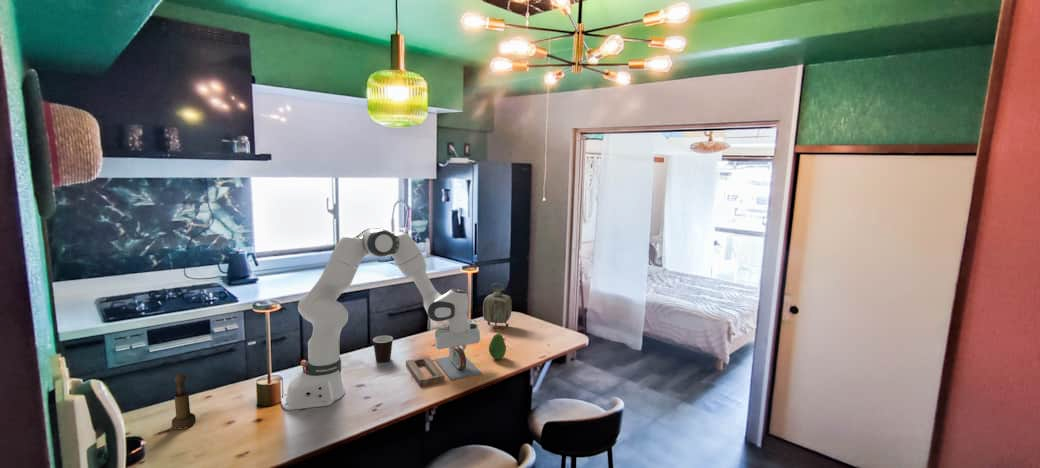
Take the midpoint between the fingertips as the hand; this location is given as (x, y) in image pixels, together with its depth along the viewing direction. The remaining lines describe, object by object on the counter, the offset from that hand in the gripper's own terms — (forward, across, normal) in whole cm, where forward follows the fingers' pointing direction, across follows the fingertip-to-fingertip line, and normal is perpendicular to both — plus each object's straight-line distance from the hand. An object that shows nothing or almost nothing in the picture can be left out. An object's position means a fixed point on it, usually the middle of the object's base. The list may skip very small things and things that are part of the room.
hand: (457, 354), depth 212 cm
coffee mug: (+6, -27, +22) cm, 35 cm away
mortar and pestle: (+6, -100, -4) cm, 100 cm away
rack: (+6, -15, 0) cm, 16 cm away
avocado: (+6, +20, +1) cm, 21 cm away
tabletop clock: (+6, +38, +39) cm, 54 cm away
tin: (+5, 0, 0) cm, 5 cm away
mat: (+6, 0, 0) cm, 6 cm away
